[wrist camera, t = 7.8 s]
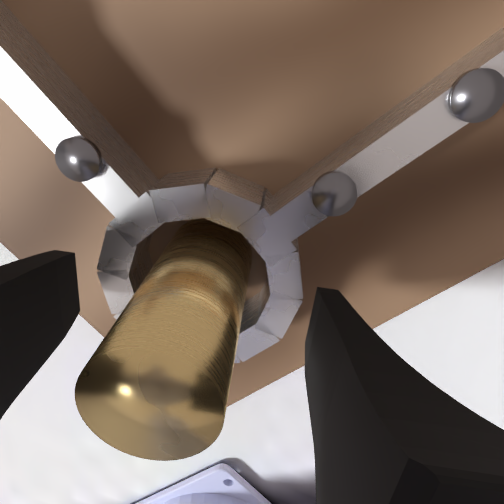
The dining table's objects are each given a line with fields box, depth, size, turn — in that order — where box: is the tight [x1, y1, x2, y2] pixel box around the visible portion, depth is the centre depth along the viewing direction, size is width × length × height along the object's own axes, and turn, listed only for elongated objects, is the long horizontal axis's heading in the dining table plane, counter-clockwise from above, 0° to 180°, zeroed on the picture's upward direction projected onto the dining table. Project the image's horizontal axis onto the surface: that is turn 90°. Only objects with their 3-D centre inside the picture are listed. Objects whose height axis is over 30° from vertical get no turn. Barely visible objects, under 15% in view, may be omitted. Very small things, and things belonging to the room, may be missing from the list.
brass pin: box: [75, 218, 252, 461], centre depth 11 cm, size 3×3×7 cm
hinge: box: [0, 0, 504, 363], centre depth 11 cm, size 14×14×2 cm
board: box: [0, 0, 504, 407], centre depth 12 cm, size 20×20×1 cm
